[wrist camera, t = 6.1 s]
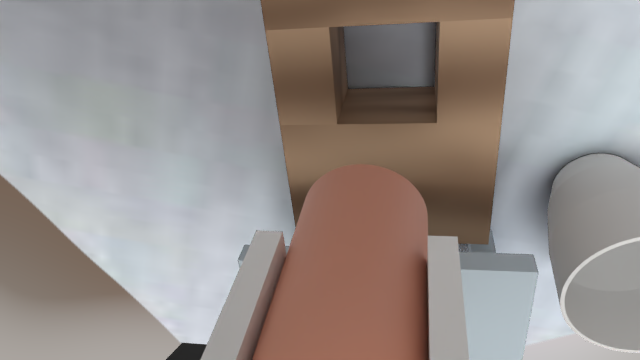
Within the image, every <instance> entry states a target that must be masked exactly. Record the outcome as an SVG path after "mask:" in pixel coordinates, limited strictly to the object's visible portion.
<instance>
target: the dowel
mask: <svg viewBox="0 0 640 360" xmlns="http://www.w3.org/2000/svg"><path fill="white" fill-rule="evenodd" d="M427 245H428V214H427V208H426V204H425V202H424V199H423V198H422V196H421V194H420V192H419V191H418V190H417V189H416V187H415V186H414V185H413V184H412V183H411V182H410V181H408V180H407V179H406V178H404V177H403V176H401V175H400V174H398V173H396V172H394V171H392V170H389V169H387V168H383V167H380V166H375V165H368V164H354V165H347V166H343V167H339V168H336V169H334V170H332V171H329V172H328V173H326V174H324V175H323V176H321V177H320V178H319V179H318V180H317V181H316V182H315V183H314V184H313V185H312V187H311V188H310V190H309V191H308V193H307V196H306V198H305V201H304V204H303V207H302V210H301V213H300V216H299V219H298V222H297V225H296V228H295V231H294V234H293V237H292V240H291V243H290V246H289V249H288V252H287V255H286V258H285V261H284V264H283V267H282V270H281V274H280V277H279V280H278V283H277V286H276V289H275V292H274V295H273V298H272V301H271V304H270V307H269V310H268V313H267V316H266V319H265V322H264V325H263V328H262V331H261V334H260V337H259V340H258V343H257V346H256V349H255V352H254V355H253V358H252V360H428V291H427Z"/></svg>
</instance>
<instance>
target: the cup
mask: <svg viewBox="0 0 640 360" xmlns="http://www.w3.org/2000/svg"><path fill="white" fill-rule="evenodd" d="M547 218H548V240H549V255H550V260H551V265H552V270H553V274H554V279H555V284H556V288H557V293H558V298H559V303H560V307H561V312H562V315H563V317H564V319H565V321H566V323H567V324H568V326H569V327H570V328H571V329H572V330H573V331H574V332H575V333H576V334H577V335H579V336H580V337H582V338H583V339H585V340H587V341H588V342H590V343H593V344H595V345H598V346H600V347H603V348H607V349H611V350H616V351H622V352H633V353H636V352H637V353H640V167H638V166H636V165H634V164H632V163H630V162H628V161H626V160H625V159H623V158H621V157H618V156H615V155H612V154H604V153H598V154H590V155H586V156H582V157H580V158H577V159H575V160H573V161H572V162H570V163H568V164H567V165H566V166H565V167H563V168H562V169H561V170H560V172H559V173H558V174H557V176H556V177H555V179H554V182H553V185H552V190H551V195H550V200H549V205H548V210H547Z"/></svg>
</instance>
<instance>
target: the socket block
mask: <svg viewBox="0 0 640 360" xmlns="http://www.w3.org/2000/svg"><path fill="white" fill-rule="evenodd" d="M514 1H515V0H261V6H262V13H263V19H264V26H265V32H266V39H267V45H268V52H269V58H270V65H271V71H272V78H273V84H274V90H275V97H276V103H277V110H278V116H279V123H280V129H281V136H282V142H283V149H284V155H285V162H286V168H287V174H288V181H289V187H290V194H291V200H292V207H293V213H294V220H295V226H296V225H297V222H298V219H299V216H300V213H301V210H302V207H303V204H304V201H305V198H306V196H307V193H308V191H309V190H310V188H311V187H312V185H313V184H314V183H315V182H316V181H317V180H318V179H319V178H320V177H321V176H323V175H324V174H326V173H328V172H329V171H332V170H334V169H336V168H339V167H343V166H347V165H354V164H368V165H375V166H380V167H383V168H387V169H389V170H392V171H394V172H396V173H398V174H400V175H401V176H403V177H404V178H406V179H407V180H408V181H410V182H411V183H412V184H413V185H414V186H415V187H416V189H417V190H418V191H419V192H420V194H421V196H422V198H423V199H424V202H425V204H426V208H427V214H428V236H458V244H488V243H489V234H490V224H491V215H492V206H493V196H494V187H495V178H496V168H497V159H498V150H499V141H500V131H501V122H502V113H503V103H504V94H505V85H506V75H507V66H508V57H509V47H510V38H511V29H512V20H513V10H514ZM424 22H436V53H435V87H400V88H362V89H348V84H347V70H346V56H345V42H344V28H343V26H363V25H383V24H404V23H424Z"/></svg>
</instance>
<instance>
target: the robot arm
mask: <svg viewBox="0 0 640 360" xmlns="http://www.w3.org/2000/svg"><path fill="white" fill-rule="evenodd" d="M285 258H286V249H285V243H284V237H283V231H256V232H255V235H254V237H253V239H252V242H251V244H250V246H249V249H248V251H247V253H246V256H245V258H244V260H243V262H242V265H241V267H240V269H239V272H238V274H237V276H236V279H235V281H234V283H233V286H232V288H231V290H230V292H229V295H228V297H227V299H226V302H225V304H224V306H223V309H222V311H221V313H220V316H219V318H218V320H217V323H216V325H215V327H214V329H213V332H212V334H211V336H210V339H209V341H208V343H207V345H205V344H191V343H182V344H181V345H180V346H179V347H178V348H177V349H176V350H175V351H174V352H173V353H172V354H171V355H170V356H169V357H168V358H167V359H166V360H252V358H253V355H254V352H255V349H256V346H257V343H258V340H259V337H260V334H261V331H262V328H263V325H264V322H265V319H266V316H267V313H268V310H269V307H270V304H271V301H272V298H273V295H274V292H275V289H276V286H277V283H278V280H279V277H280V274H281V270H282V267H283V264H284V261H285ZM427 291H428V360H469V352H468V341H467V331H466V320H465V309H464V299H463V288H462V278H461V267H460V256H459V246H458V236H428V245H427Z"/></svg>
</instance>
